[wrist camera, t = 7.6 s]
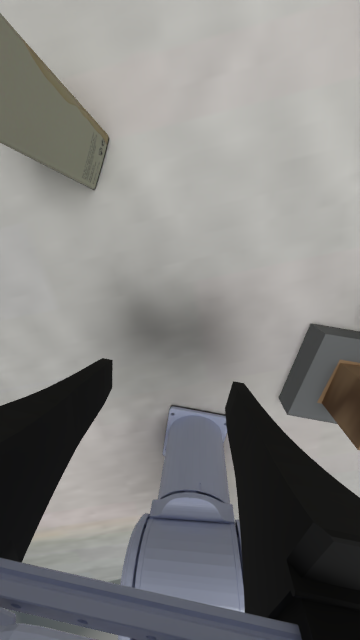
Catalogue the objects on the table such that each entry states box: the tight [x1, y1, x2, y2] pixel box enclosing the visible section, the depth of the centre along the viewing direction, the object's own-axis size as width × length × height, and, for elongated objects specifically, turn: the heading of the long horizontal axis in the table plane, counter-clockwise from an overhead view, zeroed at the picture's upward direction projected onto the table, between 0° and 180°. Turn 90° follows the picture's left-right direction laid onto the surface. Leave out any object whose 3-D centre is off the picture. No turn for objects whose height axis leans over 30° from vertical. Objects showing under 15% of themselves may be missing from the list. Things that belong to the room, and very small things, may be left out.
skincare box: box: [0, 13, 109, 189], centre depth 11 cm, size 6×4×12 cm
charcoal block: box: [279, 324, 360, 424], centre depth 21 cm, size 10×10×3 cm
